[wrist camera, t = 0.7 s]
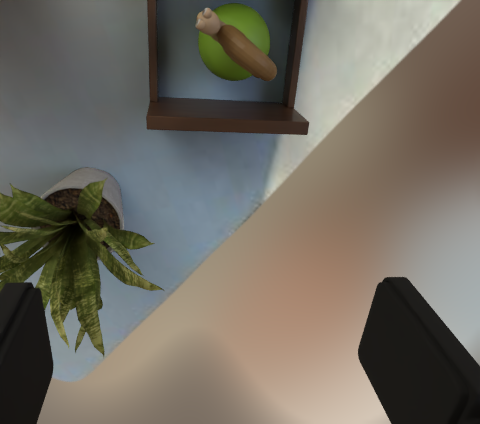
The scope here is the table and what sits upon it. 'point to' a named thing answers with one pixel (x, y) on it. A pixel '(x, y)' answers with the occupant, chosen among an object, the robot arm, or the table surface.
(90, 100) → the table surface
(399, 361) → the robot arm
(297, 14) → the frame
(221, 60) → the snail figurine
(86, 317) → the house plant
